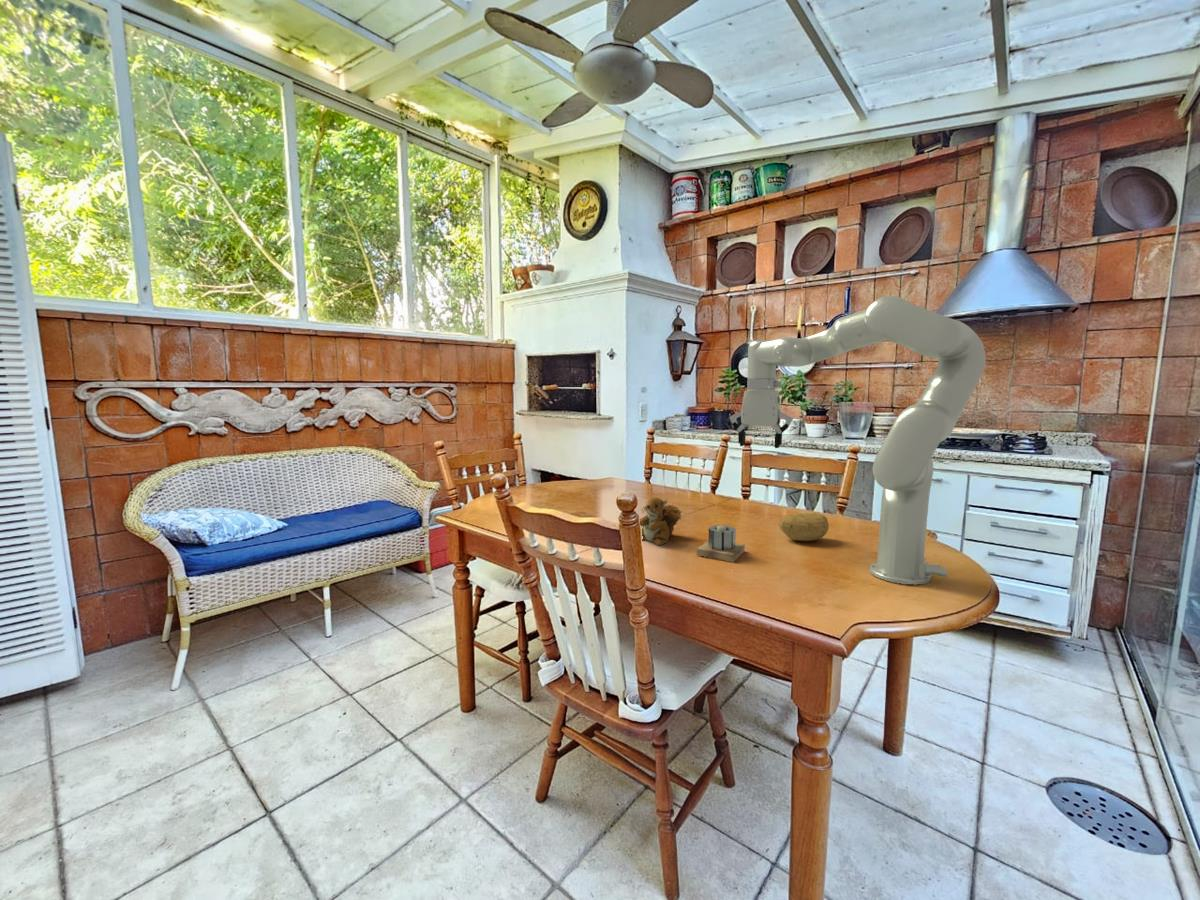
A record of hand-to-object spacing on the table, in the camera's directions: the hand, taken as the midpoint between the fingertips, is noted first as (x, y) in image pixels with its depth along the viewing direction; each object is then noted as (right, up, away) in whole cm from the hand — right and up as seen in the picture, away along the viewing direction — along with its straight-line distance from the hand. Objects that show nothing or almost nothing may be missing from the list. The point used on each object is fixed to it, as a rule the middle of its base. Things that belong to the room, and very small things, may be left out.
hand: (759, 446), depth 144 cm
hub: (-12, -27, -5) cm, 30 cm away
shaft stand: (-12, -29, -5) cm, 32 cm away
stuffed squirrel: (-28, -28, +9) cm, 40 cm away
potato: (+14, -28, +6) cm, 32 cm away
